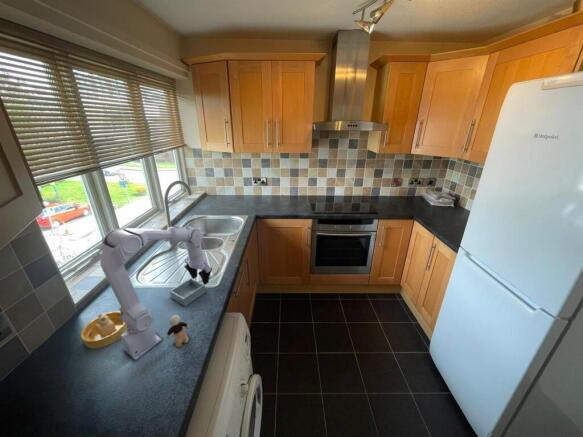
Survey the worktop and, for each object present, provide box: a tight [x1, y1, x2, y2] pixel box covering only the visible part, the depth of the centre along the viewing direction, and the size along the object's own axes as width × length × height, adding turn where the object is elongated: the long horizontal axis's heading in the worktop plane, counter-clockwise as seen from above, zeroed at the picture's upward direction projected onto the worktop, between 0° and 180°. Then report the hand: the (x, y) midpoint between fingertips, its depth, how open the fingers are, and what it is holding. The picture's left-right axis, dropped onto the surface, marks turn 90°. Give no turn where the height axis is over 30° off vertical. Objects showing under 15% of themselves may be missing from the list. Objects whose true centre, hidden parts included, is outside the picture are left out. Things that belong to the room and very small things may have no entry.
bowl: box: [80, 310, 127, 349], centre depth 90 cm, size 14×14×4 cm
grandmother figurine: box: [166, 314, 190, 348], centre depth 84 cm, size 8×4×13 cm, turn 141°
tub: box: [169, 277, 207, 307], centre depth 110 cm, size 11×10×4 cm
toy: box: [95, 314, 117, 337], centre depth 90 cm, size 4×5×8 cm
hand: (200, 280), depth 105 cm, fingers open, 7 cm apart
